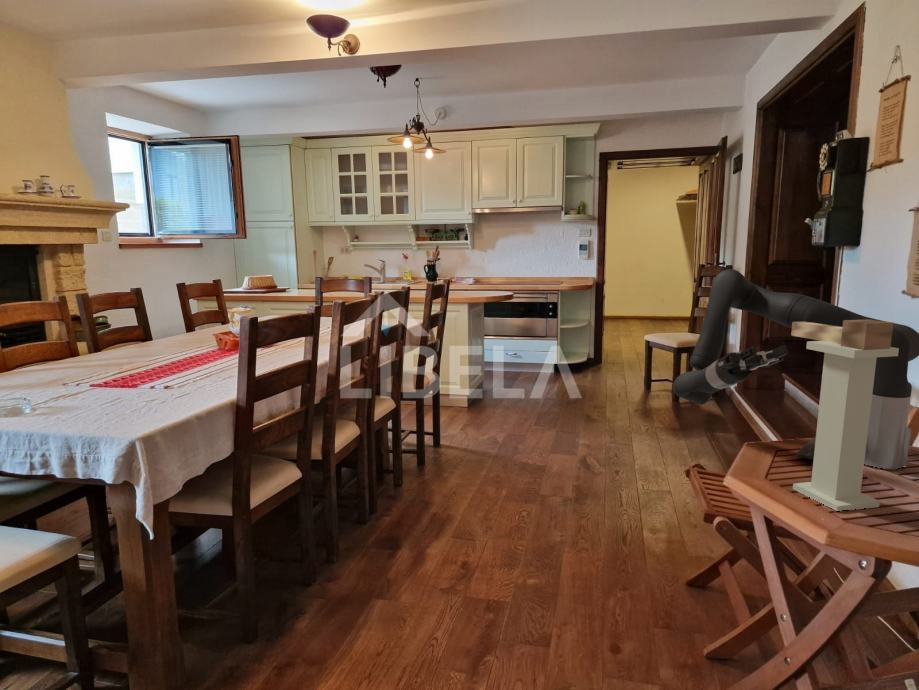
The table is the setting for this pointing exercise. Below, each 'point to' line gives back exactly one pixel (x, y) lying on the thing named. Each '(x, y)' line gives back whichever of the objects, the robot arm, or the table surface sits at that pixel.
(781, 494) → the table surface
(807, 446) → the decorative stone
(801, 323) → the mallet
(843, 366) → the stand
